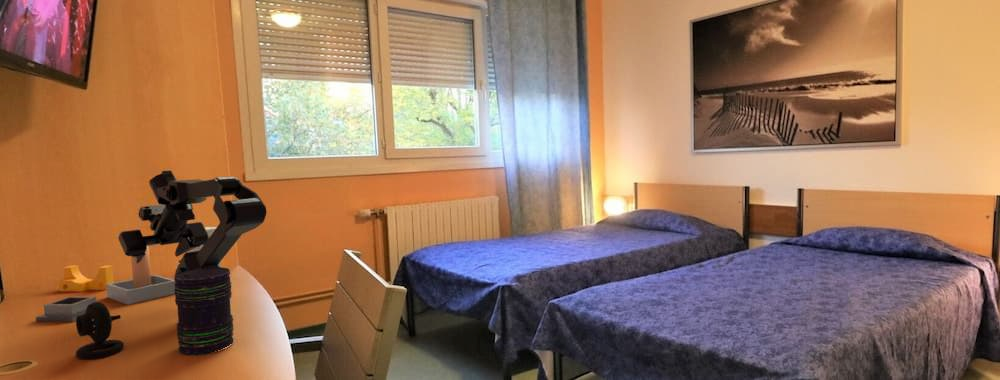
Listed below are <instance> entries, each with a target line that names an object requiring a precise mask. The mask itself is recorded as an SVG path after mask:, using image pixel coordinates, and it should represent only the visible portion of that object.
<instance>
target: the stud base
mask: <svg viewBox="0 0 1000 380" xmlns="http://www.w3.org/2000/svg"><path fill="white" fill-rule="evenodd" d="M94 302H97V297H96V296H67V297H64V298H61V299H59V300H54V301H51V302H49V303H46V304H43V311H44V313H43V314H40V315H37V316H35V322H55V323H57V322H58V323H60V322H61V323H73V322H76V318H77V316H79V315H83V314H85V312H86V308H87V306H88V305H90V304H92V303H94Z"/></svg>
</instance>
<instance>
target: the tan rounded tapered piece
mask: <svg viewBox="0 0 1000 380" xmlns="http://www.w3.org/2000/svg"><path fill="white" fill-rule="evenodd" d="M130 258H131V271H132V273H131V274H132V279H133V287H132V288H133V289H136V288H140V287H145V286H150V285H152V284H151V276H152V275H151V262H150V259H151V258H150V246H147V250H146V252H145V256H144V257H143V259H142V260H141V261H140V262H139V263H136V261H135V257H132V256H130Z"/></svg>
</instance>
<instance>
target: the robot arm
mask: <svg viewBox="0 0 1000 380" xmlns="http://www.w3.org/2000/svg"><path fill="white" fill-rule="evenodd" d="M148 185H149V187H150V189H151V191H152V192H153V195H154V197H155V199H156V201H157V204H154V205H146V206H145V205H143V206H140V208H139V210H138V215H137V216H138V218H139V219H140V220H141V221H142V222H147V221H148V222H149V223H150V226H149V228H150V230H151V231H153V235H143V234H142V231H141V229H131V230H130V229H129V230H122V231H121V232H119V235H118V237H117V238H118V241H119V244H120V246H121V248H122V250H123V253H124V255H125V256H127V257H131V256H132V257H135V261H136V263H139V262H140V261H141V260H142V259H143V257H144V256H145V252H146V250H147V246H149V247H150V246H156V245H158V246H159V245H160V246H166V245H173V244H177V247H176V249H175V252H174V255H175V257H177V258H178V257H179V256H181V255H182V258H181V259H180V260H178V262H179V264H178V265H177V268H176V269H175V272H174V276H175V275H176V274H178V273H180V272H184V271H188V270H193V269H199V268H211V267H219V263H220V261H221V262H222V260H223V259H224V258H225V256H226V255H227V254H228V253H229V252H230V251H231V249H232V247H233V246H234V245H235V244H236V243H237V241H239V238H241V237H242V235H244V234H246V233H248V232H251V231H252V230H255V229H257V228H258V227H259V226H261V225H262V224H263V223H264V222H265V219H266V217H267V206H266V205H265V203H264V202H263V200H262V198H260V196H259V195H258V193H256V192H255V191H254V190H252V189H251V188H248V187H247V186H245V185H244V184H243V183H242V182H241V180H240V179H239V178H238V177H235V176H220V177H219V176H217V177H214V178H212V179H206V180H202V179H198V178H197V179H182V180H177V178H176V177H175V175H174V174H173V171H172V170H162V171H161V173H159V174H156V175H155V176H153V177H152V178H151V179H150V180H149V182H148ZM226 196H234V197H235V198H236V199H230V200H223V198H222V197H226ZM213 197H214V203H213V207H212V210H213V212H214V214H215V215H216V216H217V218H218V220H219V224H218V225H217V228H216V229H215V230H214V232H213V233H212V235H211V236H210V237H209V235H208V233H207V231H206V229H205V226H204V224H203V223H202V222H201V221H195V219H196V215H195V212H194V211H193V209H194V207H193V204H202V203H203V202H206V200H208V199H207V198H213ZM193 220H194V221H195V222H188V221H193ZM201 245H203V247H202V248H201V249H200V251H194V252H188V251H190V250H192V249H194V248H196V247H199V246H201ZM186 252H187V253H186Z"/></svg>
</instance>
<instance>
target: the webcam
mask: <svg viewBox="0 0 1000 380" xmlns="http://www.w3.org/2000/svg"><path fill="white" fill-rule="evenodd" d="M119 319H121V315H120V314H119V315H118V314H117V315H111V313H110V311H109V309H108V307H107V306H106V305H105V304H104V303H103V302H101V301H96V302H94V303H92V304H90V305H88V306H87V308H86V312H85V314H83V315H79V316H77V318H76V321H75V326H76V330H77V334H78V335H79V336H80V337H81V338H83V337H85V336H89V337H90V338H91V340H92V341H93V342H90V343H88V344H85V345H83V346H81V347H79V348H78V349H77V350H76V351H75V356H76V358H78V359H79V360H95V359H101V358H106V357H109V356H113V355H116V354H117V353H118V352H120V351H122V350H123V349H124V347H125V345H124V344H125V343H124V342H123V341H121V340H119V339H109V338H110V336H111V331H112V325H113V324H112V322H113V321H115V320H119ZM102 348H103V349H102ZM104 348H105V349H104ZM98 349H100V350H98Z"/></svg>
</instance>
